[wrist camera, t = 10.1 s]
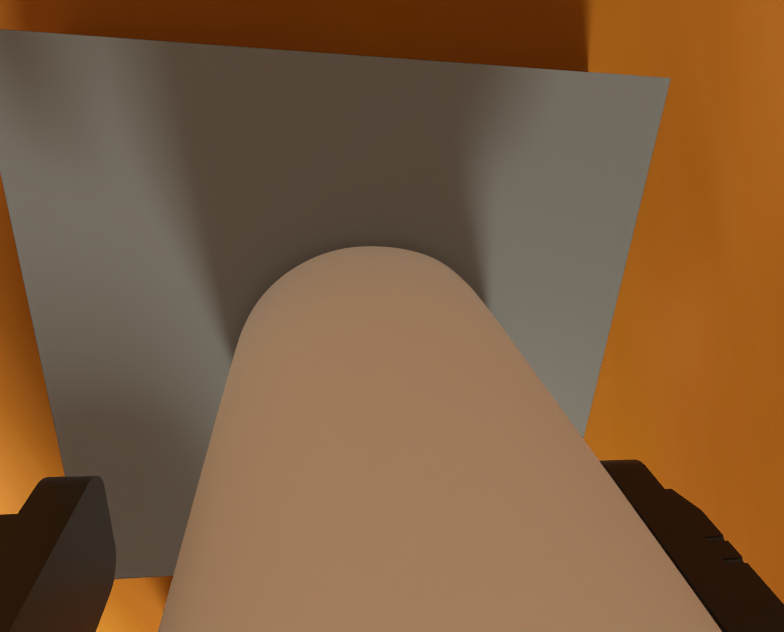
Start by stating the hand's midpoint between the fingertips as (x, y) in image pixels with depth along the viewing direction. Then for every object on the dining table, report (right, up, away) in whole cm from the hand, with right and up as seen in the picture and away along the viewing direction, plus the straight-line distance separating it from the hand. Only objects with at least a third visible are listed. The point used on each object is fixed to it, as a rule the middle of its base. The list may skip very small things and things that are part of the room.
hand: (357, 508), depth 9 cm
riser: (-1, +4, +8) cm, 9 cm away
